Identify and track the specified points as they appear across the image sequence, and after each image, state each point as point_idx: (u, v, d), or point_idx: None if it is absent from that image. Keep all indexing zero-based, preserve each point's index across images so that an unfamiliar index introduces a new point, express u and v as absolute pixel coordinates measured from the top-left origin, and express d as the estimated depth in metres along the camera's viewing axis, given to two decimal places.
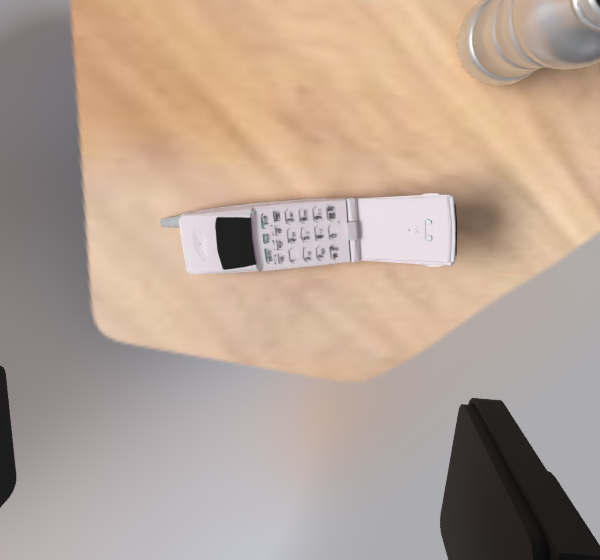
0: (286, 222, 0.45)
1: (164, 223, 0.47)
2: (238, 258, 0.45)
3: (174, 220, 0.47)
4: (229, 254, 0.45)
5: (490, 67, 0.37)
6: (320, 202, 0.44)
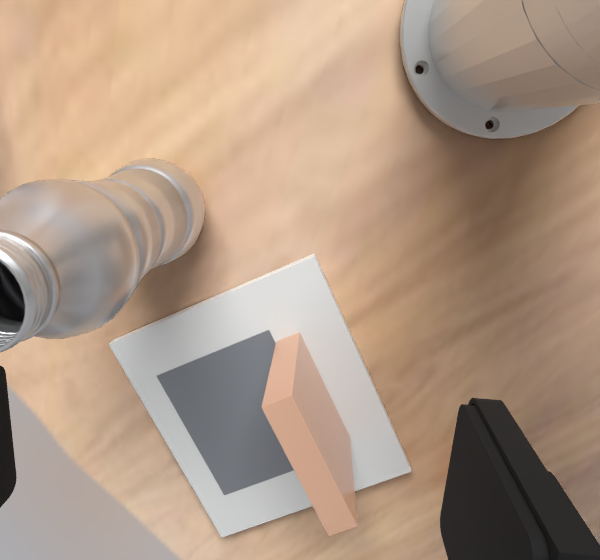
0: None
1: None
2: None
3: None
4: None
5: None
6: None
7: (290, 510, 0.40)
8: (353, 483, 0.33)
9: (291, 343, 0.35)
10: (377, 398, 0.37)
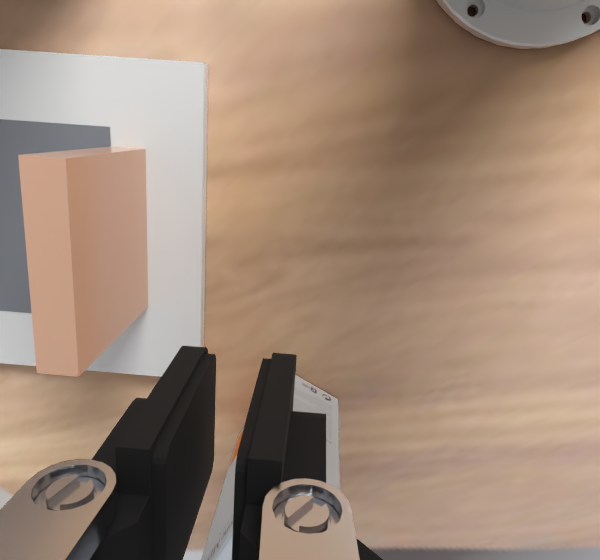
0: None
1: None
2: None
3: None
4: None
5: None
6: None
7: None
8: (112, 340, 0.25)
9: (125, 149, 0.27)
10: (199, 275, 0.30)
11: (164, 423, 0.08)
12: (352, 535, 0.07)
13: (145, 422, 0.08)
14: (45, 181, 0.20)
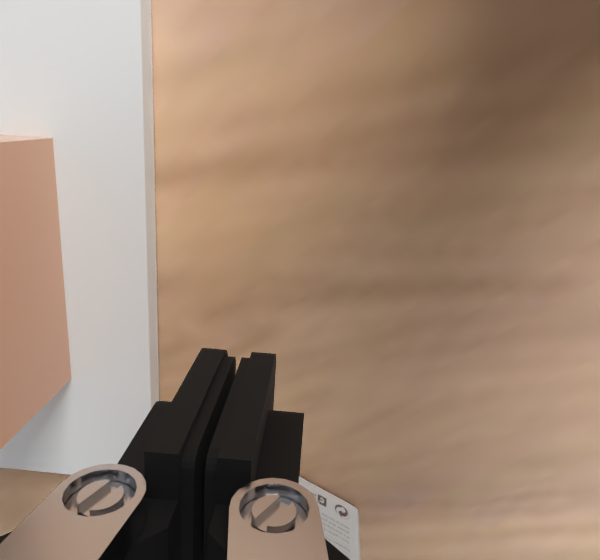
0: None
1: None
2: None
3: None
4: None
5: None
6: None
7: None
8: None
9: (9, 138, 0.16)
10: (147, 334, 0.19)
11: (190, 427, 0.08)
12: (320, 532, 0.07)
13: (172, 426, 0.08)
14: None
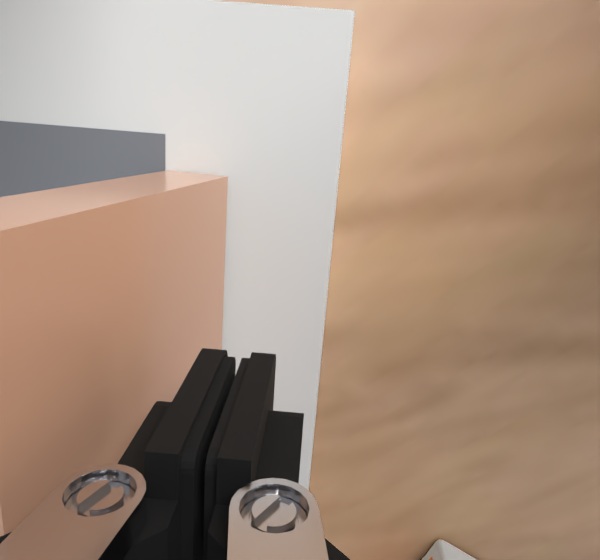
0: None
1: None
2: None
3: None
4: None
5: None
6: None
7: None
8: None
9: (187, 179, 0.13)
10: (314, 397, 0.17)
11: (190, 427, 0.08)
12: (320, 532, 0.07)
13: (172, 426, 0.08)
14: None
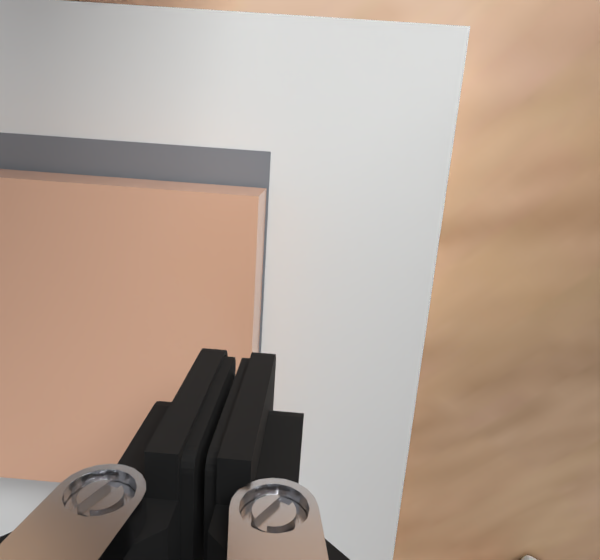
0: None
1: None
2: None
3: None
4: None
5: None
6: None
7: None
8: None
9: (202, 189, 0.14)
10: (410, 414, 0.17)
11: (191, 426, 0.08)
12: (320, 532, 0.07)
13: (171, 426, 0.08)
14: None
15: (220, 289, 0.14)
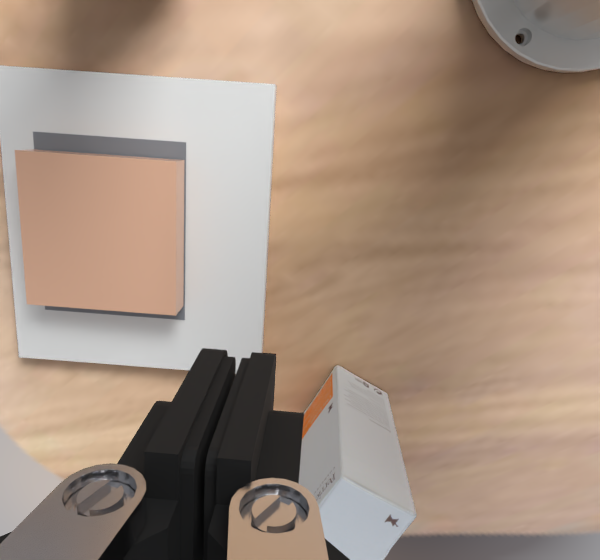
0: None
1: None
2: None
3: None
4: None
5: None
6: None
7: (111, 360, 0.34)
8: (87, 307, 0.31)
9: (151, 159, 0.29)
10: (263, 278, 0.32)
11: (191, 427, 0.08)
12: (320, 532, 0.07)
13: (171, 426, 0.08)
14: None
15: (160, 205, 0.29)
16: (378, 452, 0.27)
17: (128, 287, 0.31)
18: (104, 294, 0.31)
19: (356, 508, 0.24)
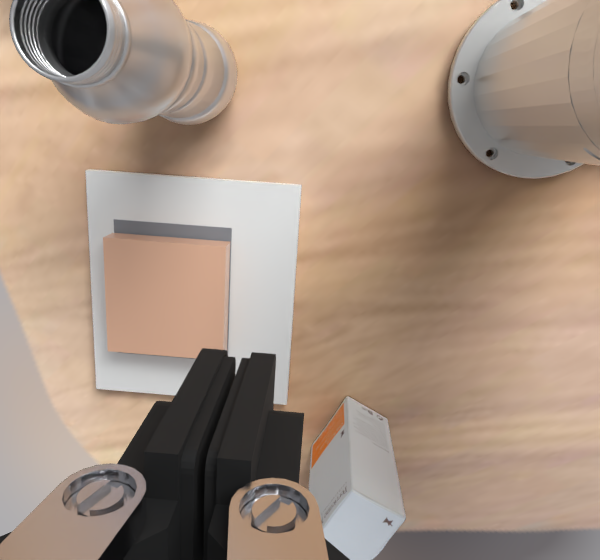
0: None
1: None
2: None
3: None
4: None
5: None
6: None
7: (169, 391, 0.43)
8: (154, 354, 0.40)
9: (206, 243, 0.38)
10: (290, 330, 0.41)
11: (190, 427, 0.08)
12: (320, 532, 0.07)
13: (172, 426, 0.08)
14: None
15: (212, 279, 0.38)
16: (378, 470, 0.36)
17: (186, 339, 0.40)
18: (168, 344, 0.40)
19: (362, 512, 0.33)
